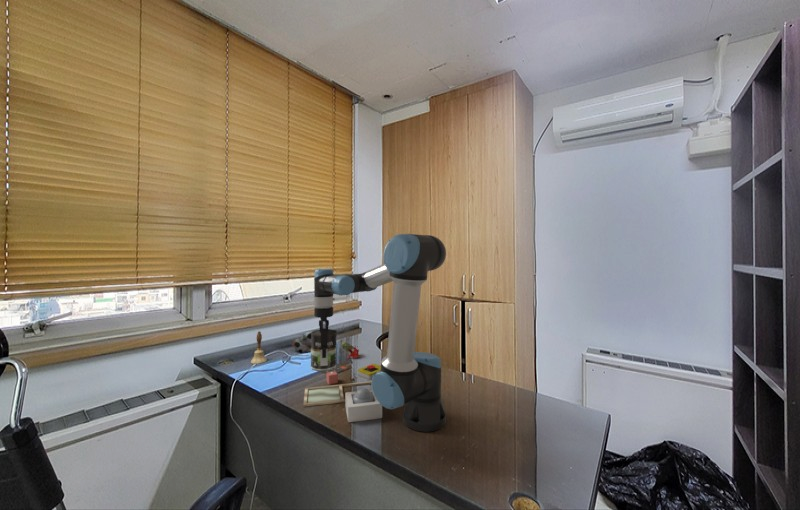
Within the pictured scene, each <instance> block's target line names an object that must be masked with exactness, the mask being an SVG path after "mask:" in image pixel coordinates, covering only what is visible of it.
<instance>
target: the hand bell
mask: <svg viewBox="0 0 800 510" xmlns="http://www.w3.org/2000/svg"><path fill="white" fill-rule="evenodd" d="M262 336H263V334H262V331H257V333H256V344H257V346H256V350H255V351H254V354H253V357H252V359H251V361H250V363H251V364H253V365H256V364H257V365H258V364H262V363H266V362H267V361H268V359H267V357H265V352H264V350H263V349H262V347H261V345H262V339H263V338H262Z"/></svg>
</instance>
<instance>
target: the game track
mask: <svg viewBox="0 0 800 510" xmlns="http://www.w3.org/2000/svg"><path fill="white" fill-rule="evenodd" d="M366 385H367V386H368V385H372V380H370V381H362V382H361V381H360V382H352V383H341V384H330V385H321V386H312V387H311V386H310V387H305V388H304V396H303V405H302V407H303V408H306V407H314V406H321V405H331V404H332V405H333V404H339V403H341V404H342V403H345V396H344V395H345V394H344V390H343V388H347V387H348V388H349V387H357V386H366Z"/></svg>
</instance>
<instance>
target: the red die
mask: <svg viewBox="0 0 800 510" xmlns="http://www.w3.org/2000/svg"><path fill="white" fill-rule="evenodd" d="M325 375H326V377H325V378H326V381H325V382H326V383H327V384H328V386H330V385H336V384H338V383H339V379H338V378H339V377H338V376H339V373H338V374H337V373H336V372H335V371H333V372H328V373H326V374H325Z"/></svg>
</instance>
